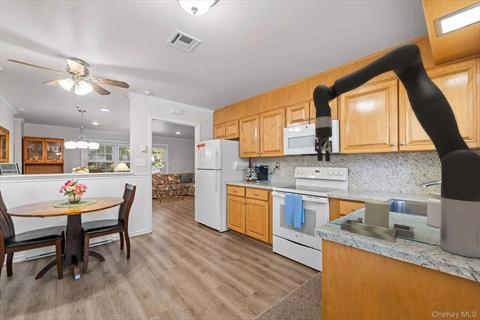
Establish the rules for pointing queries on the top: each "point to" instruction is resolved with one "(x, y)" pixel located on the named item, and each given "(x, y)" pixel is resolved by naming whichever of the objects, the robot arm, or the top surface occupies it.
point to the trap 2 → (405, 231)
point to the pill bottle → (434, 210)
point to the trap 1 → (346, 224)
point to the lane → (373, 230)
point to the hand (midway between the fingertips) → (324, 161)
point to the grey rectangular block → (377, 213)
